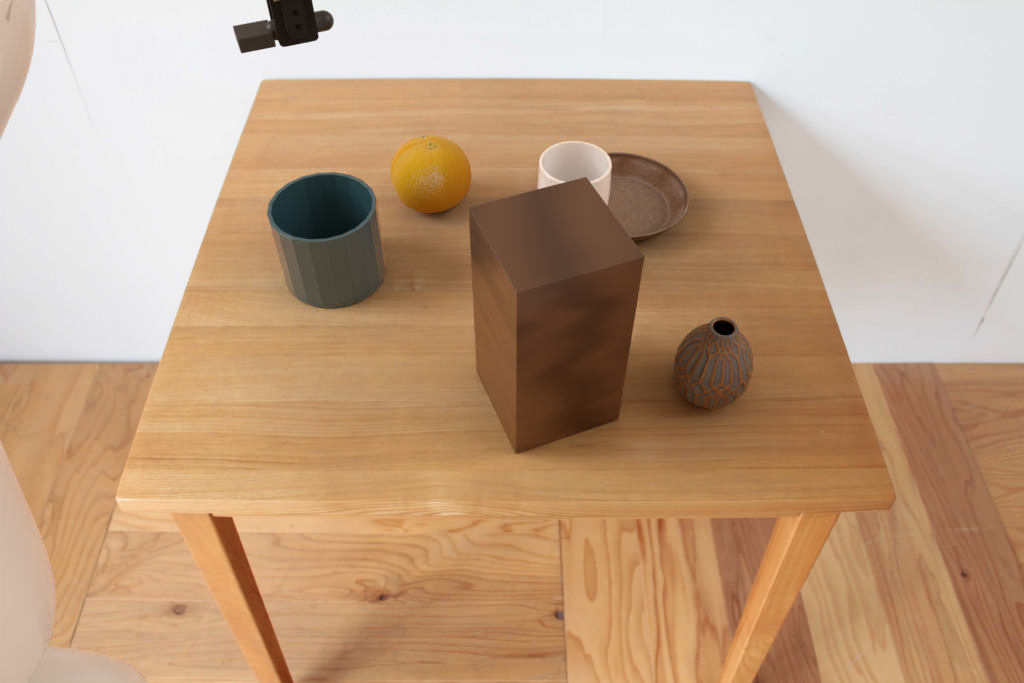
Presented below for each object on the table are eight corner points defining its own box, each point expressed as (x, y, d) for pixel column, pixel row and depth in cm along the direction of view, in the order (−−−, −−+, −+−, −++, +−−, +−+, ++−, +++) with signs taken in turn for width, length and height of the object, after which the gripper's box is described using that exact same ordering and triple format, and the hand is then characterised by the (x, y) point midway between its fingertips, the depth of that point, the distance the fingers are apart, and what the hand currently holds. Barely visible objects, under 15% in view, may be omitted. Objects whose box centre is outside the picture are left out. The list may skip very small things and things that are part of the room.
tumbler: (298, 319, 85) (279, 253, 78) (276, 253, 91) (258, 186, 84) (398, 292, 87) (388, 225, 81) (371, 229, 94) (360, 162, 87)
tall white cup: (601, 304, 86) (615, 185, 75) (534, 303, 86) (538, 184, 75) (598, 258, 91) (610, 140, 79) (534, 257, 91) (538, 139, 79)
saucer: (656, 161, 102) (659, 142, 100) (706, 241, 92) (711, 222, 90) (538, 181, 99) (538, 162, 97) (576, 266, 90) (578, 247, 88)
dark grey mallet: (241, 53, 68) (236, 35, 67) (236, 39, 69) (231, 20, 68) (338, 34, 70) (335, 16, 68) (331, 21, 71) (328, 2, 70)
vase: (665, 360, 81) (679, 296, 75) (738, 362, 81) (758, 298, 74) (672, 419, 77) (686, 356, 70) (749, 421, 77) (771, 359, 70)
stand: (515, 454, 74) (516, 293, 59) (476, 371, 80) (468, 206, 65) (618, 419, 77) (645, 256, 62) (573, 342, 83) (586, 176, 68)
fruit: (449, 171, 100) (445, 112, 94) (485, 208, 96) (483, 149, 90) (382, 197, 97) (374, 138, 91) (415, 237, 93) (409, 177, 87)
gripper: (168, -253, 60) (233, 0, 73) (201, -179, 50) (269, 95, 64) (275, -264, 61) (319, -16, 75) (327, -195, 52) (366, 75, 66)
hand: (295, 34), depth 70 cm, fingers closed on dark grey mallet, 1 cm apart
